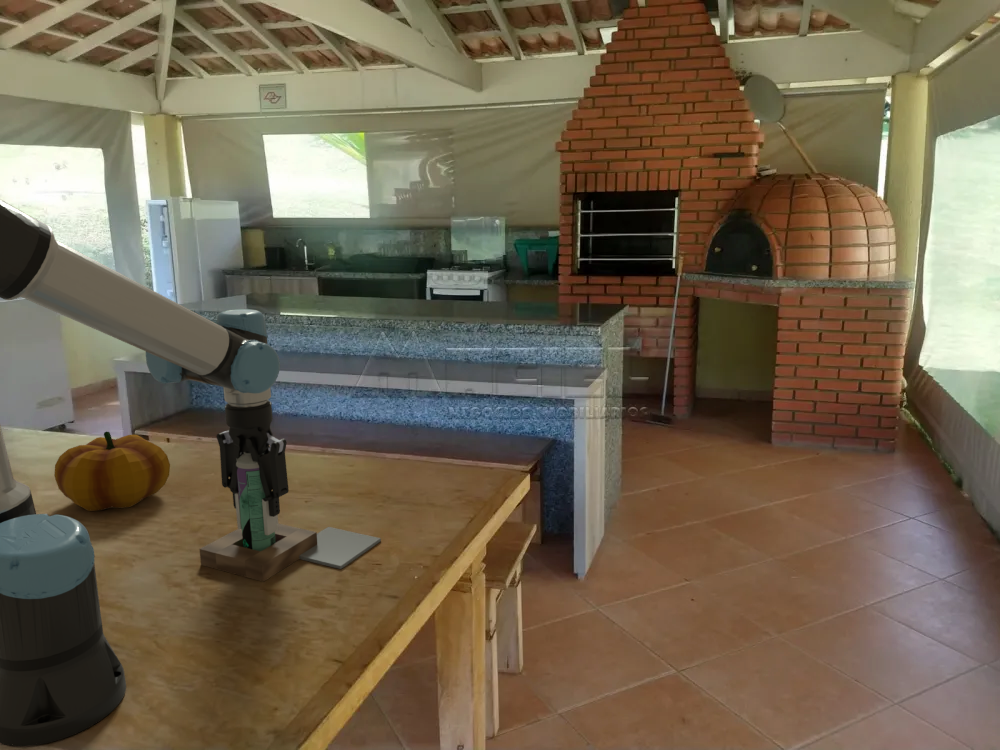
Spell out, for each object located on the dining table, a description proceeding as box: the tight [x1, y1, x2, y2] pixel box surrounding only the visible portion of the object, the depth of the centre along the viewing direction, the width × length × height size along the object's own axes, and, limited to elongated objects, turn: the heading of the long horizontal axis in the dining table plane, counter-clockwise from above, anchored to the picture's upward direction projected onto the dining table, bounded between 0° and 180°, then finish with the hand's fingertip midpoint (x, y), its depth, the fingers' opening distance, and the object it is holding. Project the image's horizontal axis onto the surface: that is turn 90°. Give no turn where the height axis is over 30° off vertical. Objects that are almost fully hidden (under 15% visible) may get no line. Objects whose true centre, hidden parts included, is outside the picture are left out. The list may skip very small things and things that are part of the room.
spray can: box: [236, 451, 276, 552], centre depth 131 cm, size 6×6×20 cm
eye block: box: [198, 523, 318, 582], centre depth 133 cm, size 14×14×3 cm
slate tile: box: [298, 526, 382, 570], centre depth 136 cm, size 12×12×1 cm
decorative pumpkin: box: [53, 431, 171, 512], centre depth 157 cm, size 20×22×15 cm
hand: (258, 528), depth 132 cm, fingers closed on spray can, 5 cm apart
